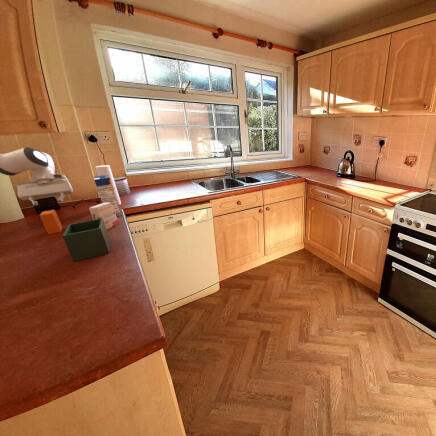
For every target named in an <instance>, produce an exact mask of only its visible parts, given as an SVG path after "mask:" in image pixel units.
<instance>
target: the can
mask: <svg viewBox="0 0 436 436" xmlns="http://www.w3.org/2000/svg"><path fill="white" fill-rule="evenodd" d="M114 182H115V185H116V188H117V191H118V195H119V197H121V196H125V195H126V196H127V195H129V194H131V189H130V186H129V183H128V180H127V176H122V177H121V176H120V177H115V178H114Z"/></svg>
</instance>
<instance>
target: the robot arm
mask: <svg viewBox="0 0 436 436" xmlns="http://www.w3.org/2000/svg"><path fill="white" fill-rule="evenodd" d="M29 170H30V171H31V172H32V174H31V176H32V181H28V182H21V183H20V184H17V186H16V187H17V197H18V198H19V199H20V200H22V201H30V202H31V204H32V205H33V207H37V206H39V202H38V201H37V199H44V198H50V197H51V198H52V197H57V201H58V203H63V202H64V199H65V197H66V196H67V195H73V193H74V189H73V187H72V184H71V183H70V181H69V179H68V177H67V176H66V175H65V174H61V173H60V174H59V173H56V165H55V163H54V160H53V158H52V156H51V155H50V154H48V153H46V152H44V151H39V150H37V149H35V148H33V147H23V148H19V149H16V150H12V151H10V152H6V153H0V174H1V175H5V176H10V177H13V176H16V175H18V174H21V173H22V172H26V171H29Z"/></svg>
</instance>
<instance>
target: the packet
mask: <svg viewBox="0 0 436 436" xmlns="http://www.w3.org/2000/svg"><path fill="white" fill-rule="evenodd" d="M39 217H40V220H41V222H42V224H43V226H44V228H45V231H46V233H47V235H52V234H58V233H61V232H62V229H63V226H62V223H61V220H60V219H59V217H58V213H57V212H56V209H51V210H50V209H49V210H44V211H42V212H40V214H39Z"/></svg>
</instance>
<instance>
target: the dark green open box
mask: <svg viewBox="0 0 436 436" xmlns="http://www.w3.org/2000/svg"><path fill="white" fill-rule="evenodd" d="M62 238H63V241H64V244H65V246H66V248H67V250H68V254H69V255H70V258H71V260H72V262H73V263H74V262H78V261H82V260H86V259H90V258H95V257H99V256H103V255H107V254H110V250H111V241H112V240H111V238H110V235H109V232H108V229H106V226H105V223H104V220H103V218H101V219H95V220H93V219H90V220H85V221H84V220H83V221H79V222H74V223H70V224H68V225H67V226H66V228H65V230H64V232H63V234H62Z"/></svg>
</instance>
